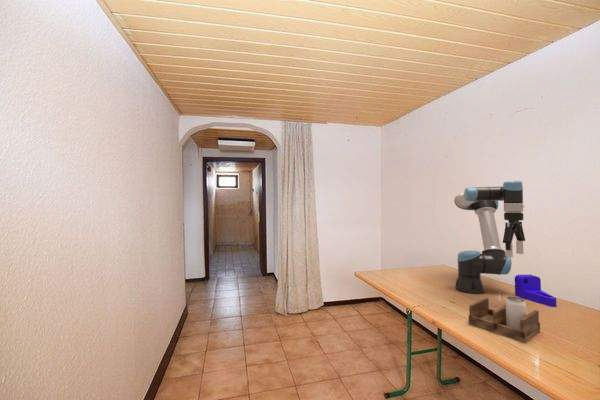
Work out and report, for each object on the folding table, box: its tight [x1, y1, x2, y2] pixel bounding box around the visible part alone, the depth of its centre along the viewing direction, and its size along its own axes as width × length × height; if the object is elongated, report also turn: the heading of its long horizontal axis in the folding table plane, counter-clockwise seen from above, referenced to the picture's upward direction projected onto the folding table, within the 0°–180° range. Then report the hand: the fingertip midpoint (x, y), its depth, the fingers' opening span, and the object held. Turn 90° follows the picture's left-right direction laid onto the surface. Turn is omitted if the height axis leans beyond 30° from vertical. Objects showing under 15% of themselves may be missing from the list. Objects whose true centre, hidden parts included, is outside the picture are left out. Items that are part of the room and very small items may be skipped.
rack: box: [468, 297, 541, 344], centre depth 114 cm, size 20×16×8 cm
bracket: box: [514, 274, 557, 308], centre depth 145 cm, size 18×11×12 cm, turn 1°
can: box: [505, 296, 527, 330], centre depth 110 cm, size 6×6×12 cm
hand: (514, 255), depth 133 cm, fingers open, 13 cm apart
